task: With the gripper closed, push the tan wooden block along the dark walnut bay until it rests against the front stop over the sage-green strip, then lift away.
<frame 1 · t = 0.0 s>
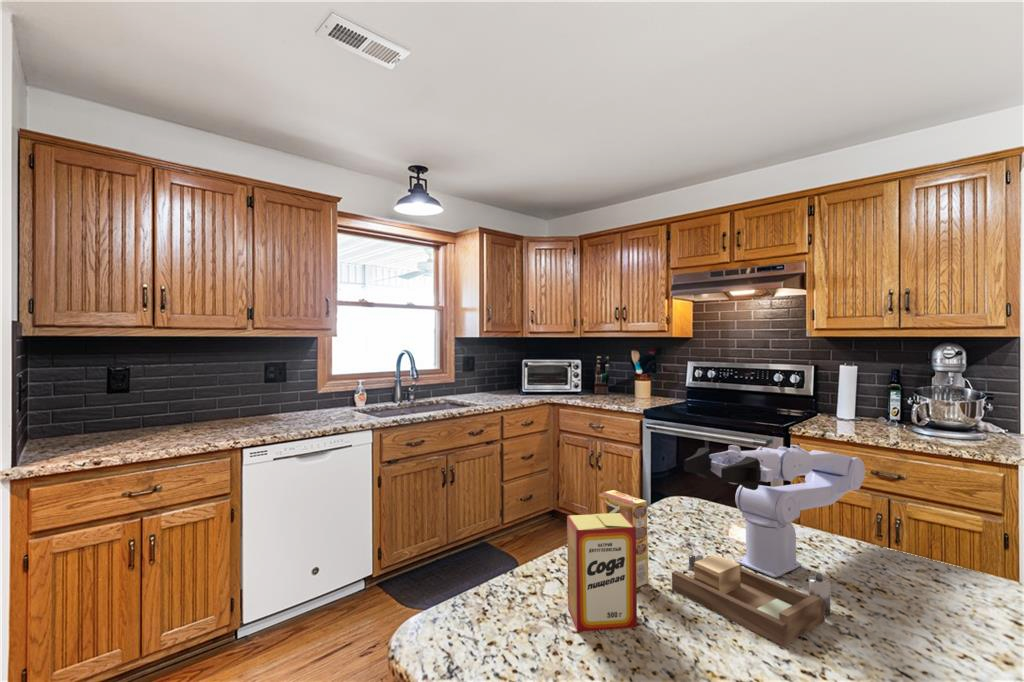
hand: (703, 469, 87), 22 cm above the countertop, tool horizontal, fingers open, 7 cm apart
tan wooden block: (717, 574, 87), point 3 cm above the countertop, slide at 0.0 cm
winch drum: (819, 610, 81), on the countertop
baking soda box: (601, 619, 79), on the countertop
bay: (743, 604, 83), on the countertop
candy box: (623, 578, 93), on the countertop
crank handle: (696, 565, 98), on the countertop
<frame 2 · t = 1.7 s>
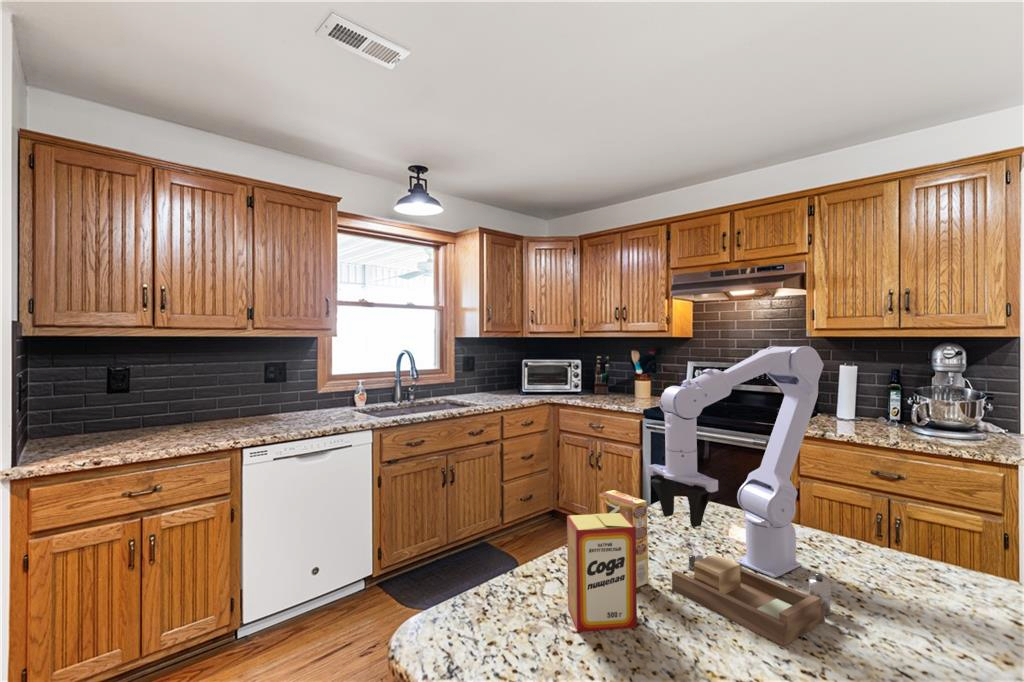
hand: (681, 520, 94), 10 cm above the countertop, tool pointing down, fingers open, 6 cm apart
nothing on the countertop moved.
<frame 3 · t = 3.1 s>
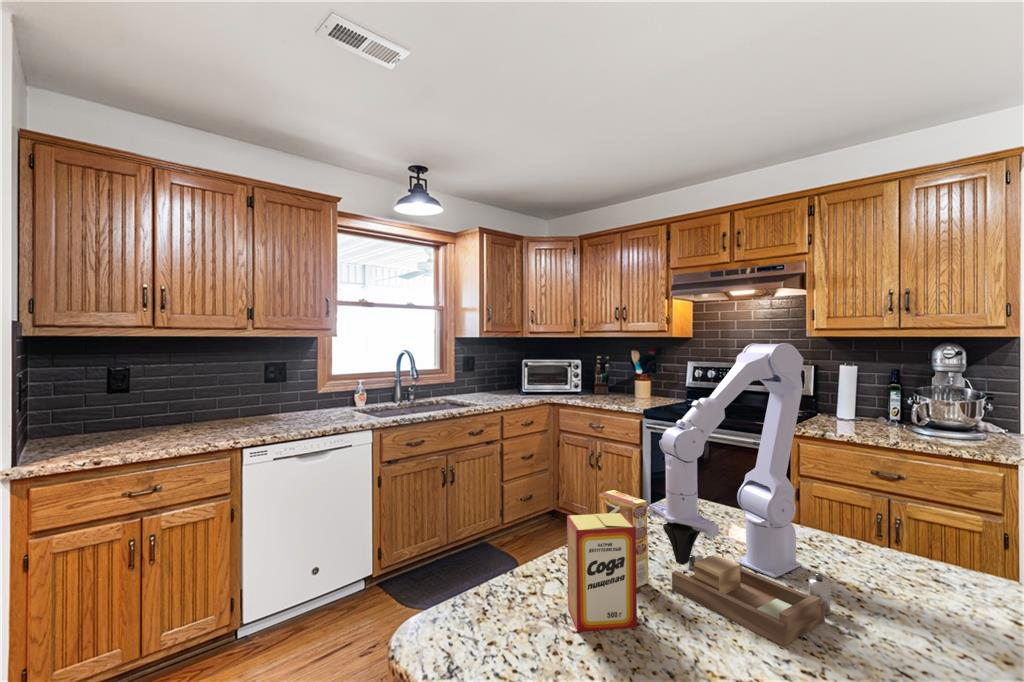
hand: (682, 562, 93), 2 cm above the countertop, tool pointing down, fingers closed
nothing on the countertop moved.
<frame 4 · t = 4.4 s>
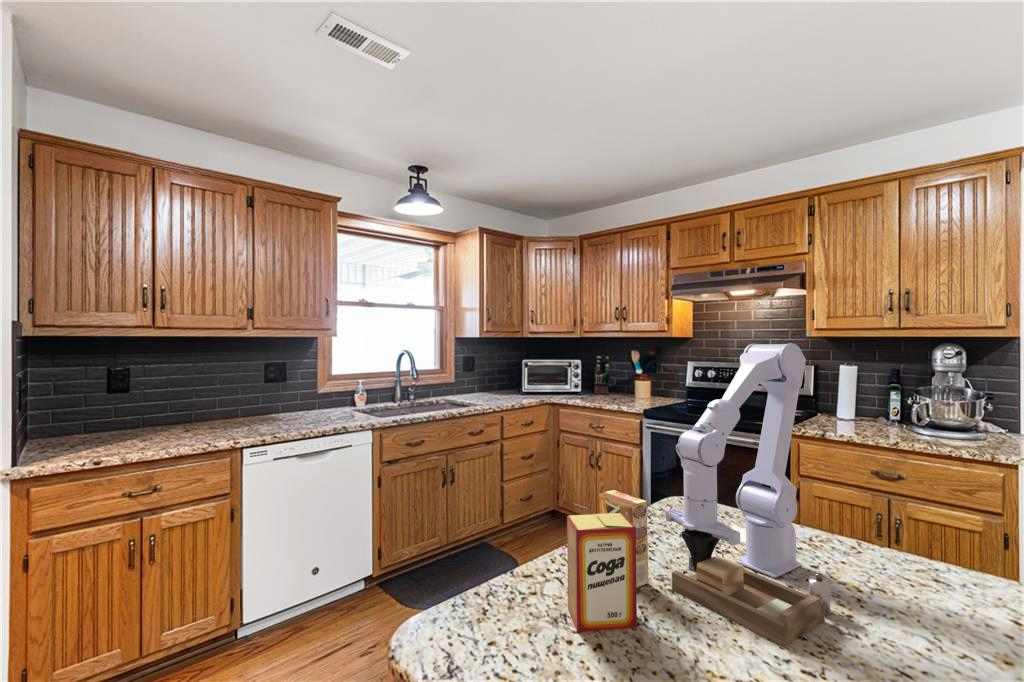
hand: (701, 571, 90), 2 cm above the countertop, tool pointing down, fingers closed
tan wooden block: (720, 575, 87), point 3 cm above the countertop, slide at 0.6 cm, touching gripper
everything else where it was.
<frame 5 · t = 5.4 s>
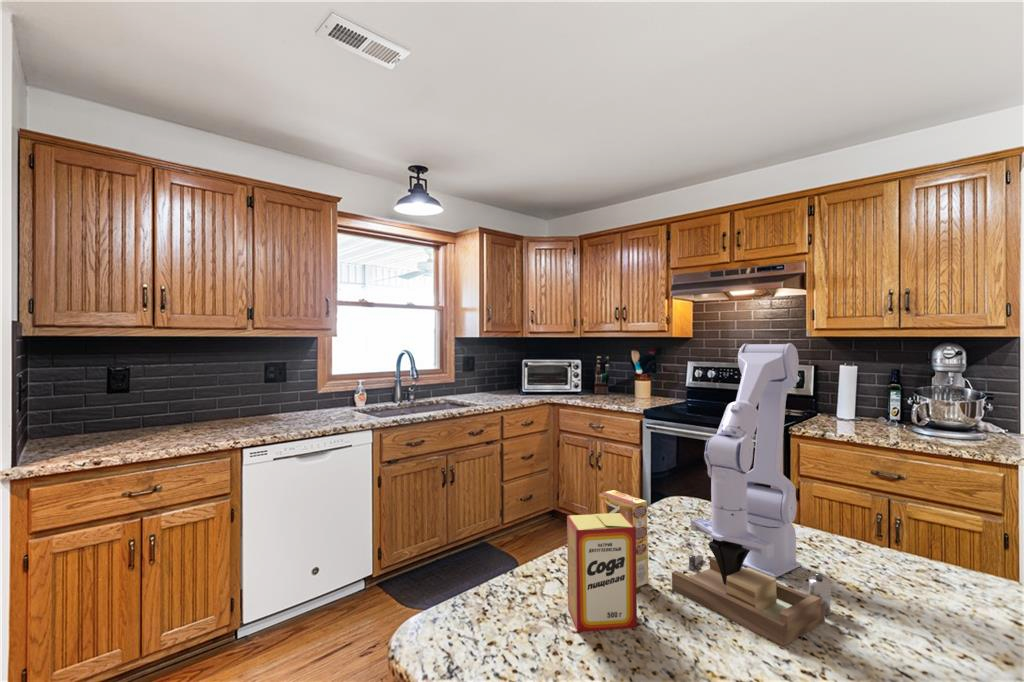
hand: (730, 584, 85), 2 cm above the countertop, tool pointing down, fingers closed
tan wooden block: (751, 589, 82), point 3 cm above the countertop, slide at 6.5 cm, touching gripper
everything else where it was.
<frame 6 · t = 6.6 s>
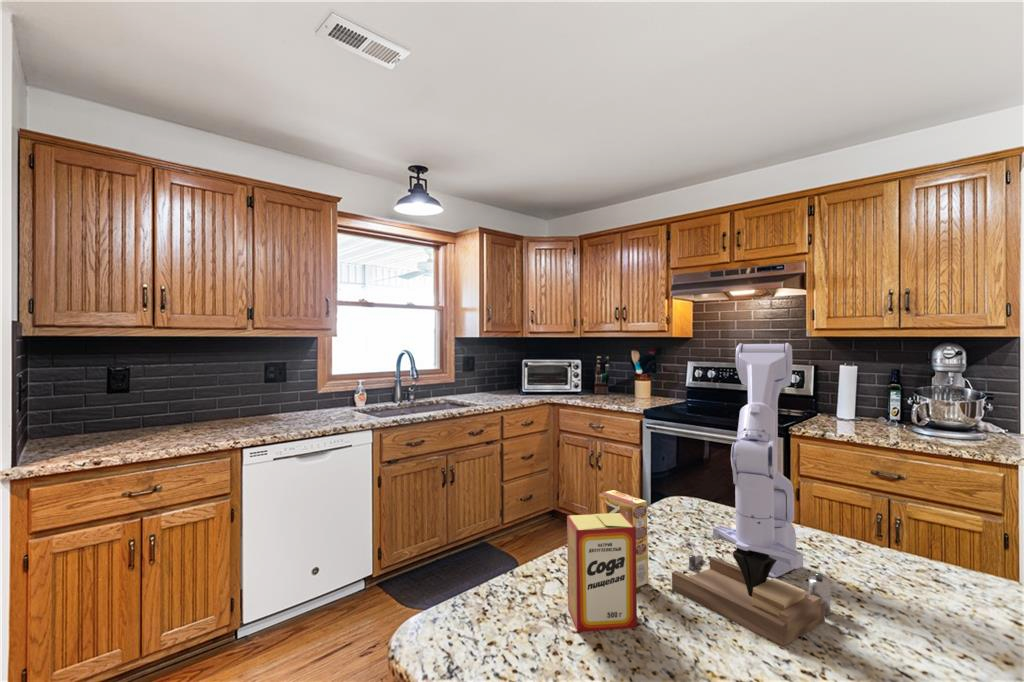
hand: (755, 595, 81), 2 cm above the countertop, tool pointing down, fingers closed
tan wooden block: (779, 601, 78), point 3 cm above the countertop, slide at 11.1 cm, touching gripper
everything else where it was.
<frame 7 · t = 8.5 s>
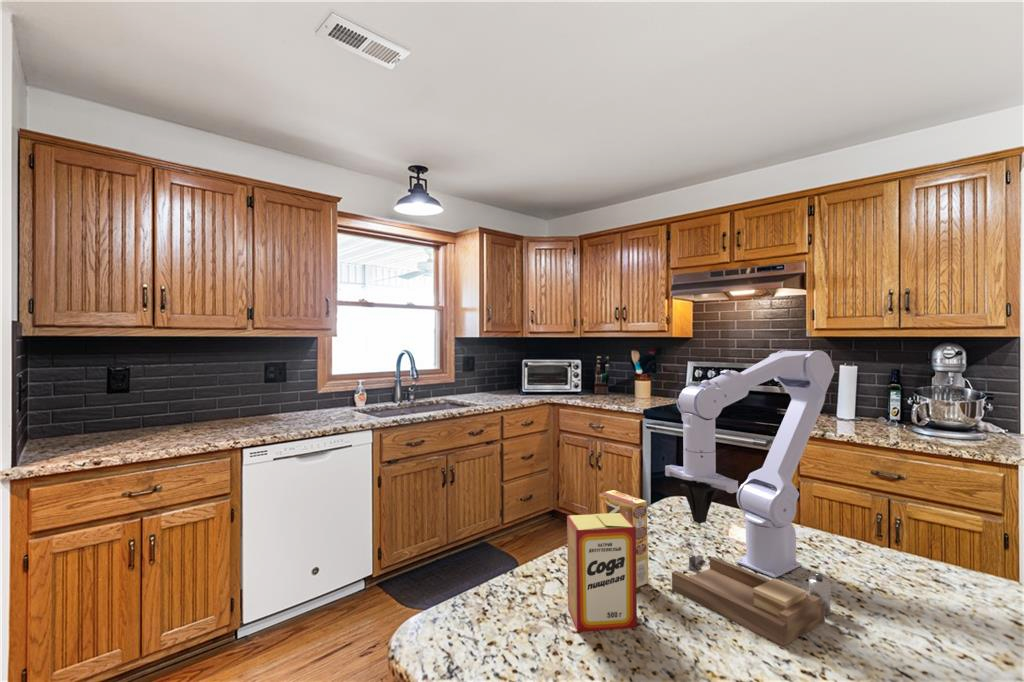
hand: (699, 521, 93), 10 cm above the countertop, tool pointing down, fingers closed
tan wooden block: (779, 602, 78), point 3 cm above the countertop, slide at 11.2 cm
everything else where it was.
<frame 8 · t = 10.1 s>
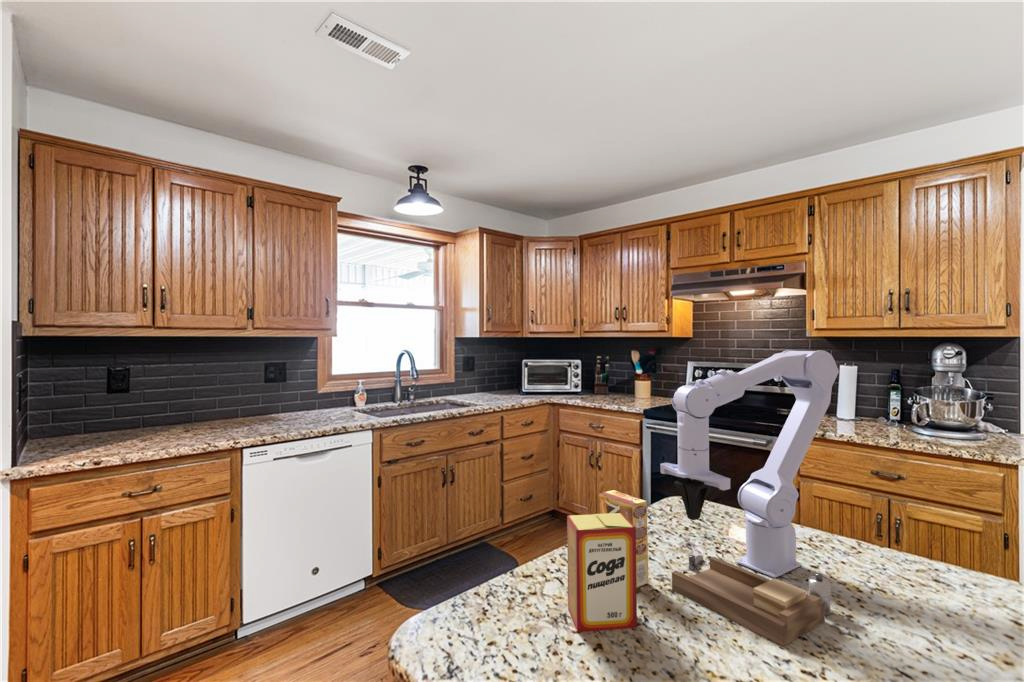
hand: (693, 518, 95), 10 cm above the countertop, tool pointing down, fingers closed
nothing on the countertop moved.
at the end: tan wooden block slide at 11.2 cm; tan wooden block moved 11.2 cm from its start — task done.
